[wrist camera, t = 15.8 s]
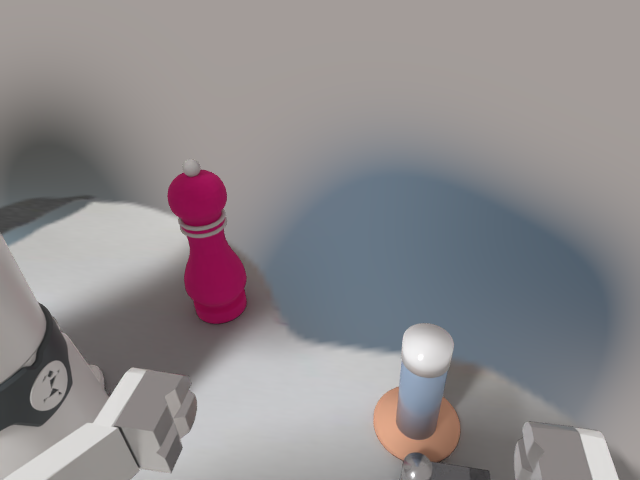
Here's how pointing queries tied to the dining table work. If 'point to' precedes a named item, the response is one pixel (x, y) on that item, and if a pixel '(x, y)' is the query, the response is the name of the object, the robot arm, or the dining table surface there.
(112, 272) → the dining table surface
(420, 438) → the shaker
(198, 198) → the pepper mill
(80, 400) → the robot arm
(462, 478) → the rail
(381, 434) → the coaster
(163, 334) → the dining table surface
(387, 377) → the dining table surface
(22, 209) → the dining table surface
